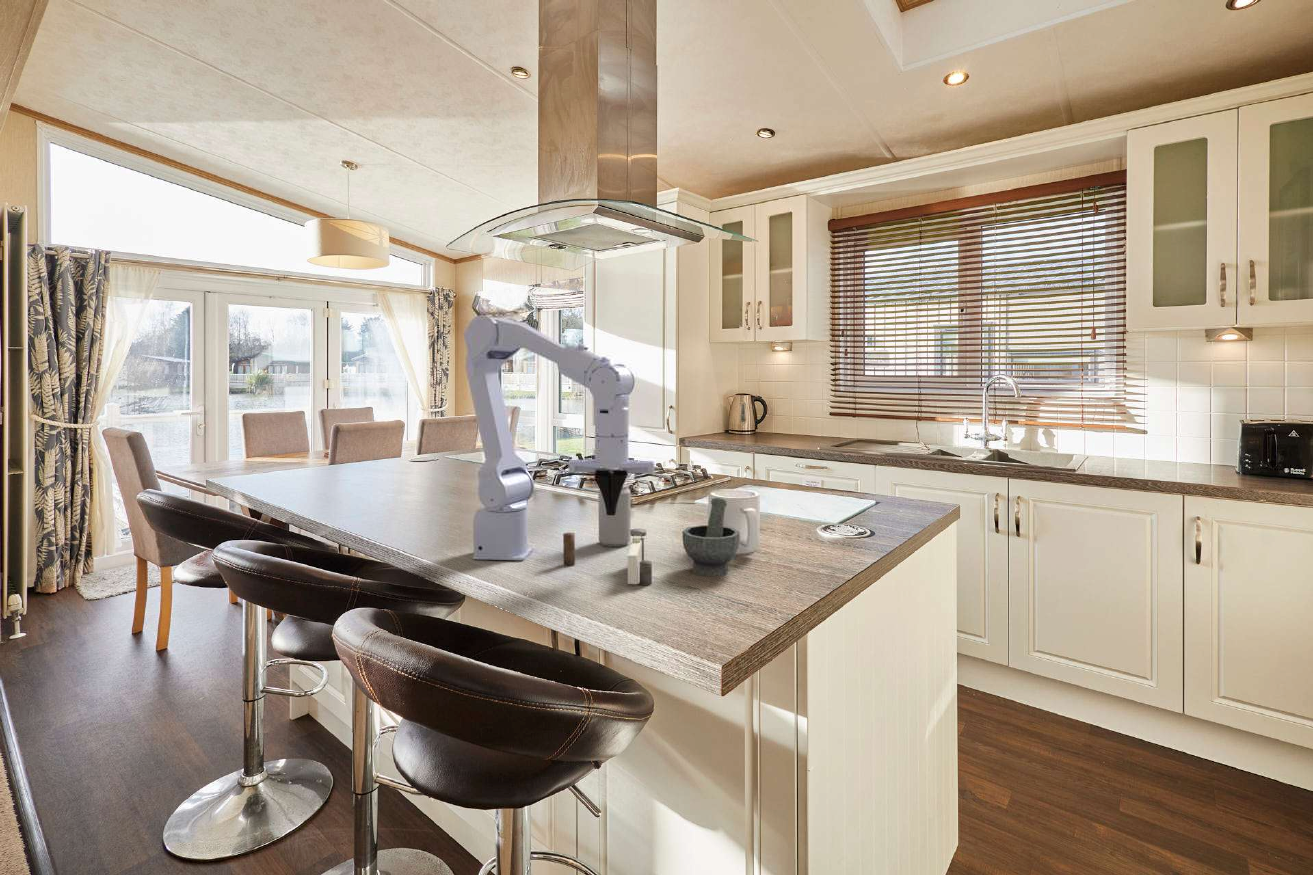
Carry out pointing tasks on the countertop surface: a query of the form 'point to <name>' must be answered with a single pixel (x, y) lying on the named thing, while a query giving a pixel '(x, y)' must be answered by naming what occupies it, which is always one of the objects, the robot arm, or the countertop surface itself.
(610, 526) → the beverage can
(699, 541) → the mortar and pestle
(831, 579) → the countertop surface
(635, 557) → the gate
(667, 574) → the countertop surface
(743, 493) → the mug
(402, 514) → the countertop surface
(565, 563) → the posts
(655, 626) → the countertop surface
